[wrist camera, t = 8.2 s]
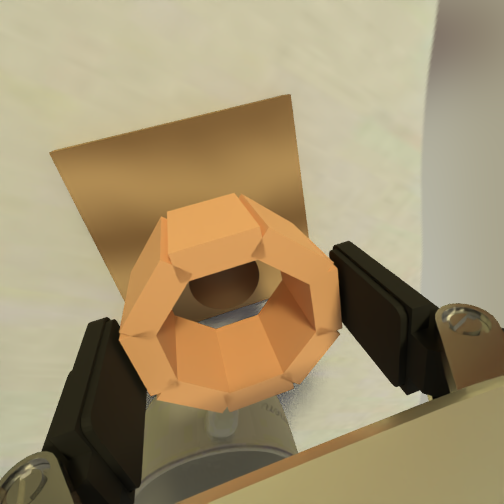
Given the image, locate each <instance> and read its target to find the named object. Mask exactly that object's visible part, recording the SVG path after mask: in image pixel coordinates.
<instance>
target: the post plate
mask: <svg viewBox="0 0 504 504" xmlns="http://www.w3.org/2000/svg"><path fill="white" fill-rule="evenodd" d="M50 155H51V157H52V159H53V161H54V163H55V165H56V167H57V169H58V171H59V173H60V175H61V177H62V179H63V181H64V183H65V185H66V187H67V189H68V191H69V193H70V195H71V197H72V199H73V201H74V203H75V205H76V207H77V209H78V211H79V213H80V215H81V217H82V219H83V221H84V222H85V224H86V226H87V228H88V230H89V232H90V234H91V236H92V238H93V240H94V242H95V244H96V246H97V248H98V250H99V252H100V254H101V256H102V258H103V260H104V262H105V264H106V266H107V268H108V270H109V272H110V274H111V276H112V278H113V280H114V282H115V284H116V286H117V288H118V289H119V291H120V293H121V295H122V297H123V299H124V301H125V300H126V294H127V289H128V284H129V279H130V274H131V271H132V269H133V267H134V265H135V264H136V262H137V260H138V258H139V256H140V254H141V252H142V251H143V249H144V247H145V245H146V243H147V241H148V240H149V238H150V236H151V234H152V232H153V230H154V228H155V227H156V225H157V223H158V221H159V219H160V217H161V216H162V217H164V218H166V219H167V212H168V211H171V210H175V209H178V208H182V207H185V206H189V205H192V204H196V203H200V202H203V201H207V200H210V199H214V198H217V197H221V196H224V195H228V194H232V193H235V194H236V196H237V197H238V198H239V197H240V195H241V194H243V195H245V196H246V197H248V198H250V199H252V200H253V201H255V202H257V203H258V204H260V205H262V206H264V207H265V208H267V209H269V210H270V211H272V212H274V213H276V214H277V215H279V216H281V217H283V218H284V219H286V220H288V221H289V222H291V223H293V224H294V225H295V226H296V227H297V228H298V229H299V230H300V231H301V232H302V233H303V234H304V235H305V236H306V237H307V238H309V236H308V228H307V220H306V212H305V205H304V197H303V189H302V181H301V173H300V165H299V157H298V149H297V141H296V134H295V126H294V118H293V110H292V102H291V94H288V95H282V96H277V97H273V98H269V99H265V100H261V101H257V102H253V103H249V104H244V105H240V106H236V107H232V108H228V109H224V110H220V111H215V112H211V113H207V114H203V115H199V116H195V117H191V118H186V119H182V120H178V121H174V122H170V123H166V124H162V125H158V126H153V127H149V128H145V129H141V130H137V131H133V132H129V133H124V134H120V135H116V136H112V137H108V138H104V139H100V140H95V141H91V142H87V143H83V144H79V145H75V146H71V147H67V148H62V149H58V150H54V151H52V152H50ZM281 281H282V276H281V271H280V270H278V269H276V268H274V267H272V266H270V265H268V264H266V263H264V262H262V261H260V260H255V261H252V262H249V263H245V264H242V265H239V266H236V267H233V268H230V269H226V270H223V271H220V272H217V273H214V274H210V275H207V276H204V277H201V278H198V279H194V280H191V281H189V282H188V283H187V285H186V287H185V288H184V290H183V292H182V293H181V295H180V297H179V298H178V300H177V302H176V303H175V305H174V307H173V308H172V310H173V313H174V315H176V316H179V317H182V318H185V319H187V320H190V321H193V322H199V321H202V320H205V319H208V318H211V317H214V316H217V315H220V314H223V313H226V312H229V311H232V310H235V309H238V308H241V307H244V306H247V305H250V304H253V303H256V302H260V301H263V300H266V299H269V298H270V297H271V295H272V294H273V293H274V291H275V290H276V288H277V287H278V285H279V284H280V283H281Z"/></svg>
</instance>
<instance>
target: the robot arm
mask: <svg viewBox="0 0 504 504" xmlns="http://www.w3.org/2000/svg"><path fill="white" fill-rule="evenodd" d="M329 257H330V260H332V261H333V262H334V263H333V265H334V266H335V267H337V268H338V280H339V293H340V305H341V317H342V323H343V324H344V325H345V326H346V328H347V329H348V330H349V331H350V332H351V334H352V335H353V336H354V337H355V339H356V340H357V341H358V342H359V344H360V345H361V346H362V347H363V349H364V350H365V351H366V352H367V354H368V355H369V356H370V357H371V359H372V360H373V361H374V362H375V364H376V365H377V366H378V367H379V369H380V370H381V371H382V372H383V373H384V375H385V376H386V377H387V378H388V380H389V381H390V382H391V383H392V384H393V385H394V386H395V387H398V386H400V388H401V389H402V390H403V391H404V392H405V394H406V395H409V394H412V393H414V392H417V391H419V390H420V391H421V392H422V393H424V394H427V395H428V400H429V401H428V402H426V403H423V404H421V405H418V406H415V407H413V408H410V409H408V410H405V411H403V412H400V413H398V414H395V415H393V416H390V417H388V418H385V419H383V420H380V421H378V422H375V423H373V424H370V425H368V426H365V427H363V428H360V429H357V430H355V431H352V432H350V433H347V434H345V435H342V436H340V437H337V438H335V439H332V440H330V441H327V442H325V443H322V444H320V445H318V446H315V447H313V448H310V449H308V450H305V451H303V452H300V453H298V454H295V455H293V456H290V457H288V458H285V459H283V460H280V461H278V462H275V463H273V464H270V465H268V466H265V467H263V468H260V469H258V470H256V471H253V472H251V473H248V474H246V475H243V476H241V477H238V478H236V479H233V480H231V481H228V482H226V483H224V484H221V485H219V486H216V487H214V488H211V489H209V490H206V491H204V492H202V493H199V494H197V495H194V496H192V497H189V498H187V499H184V500H182V501H180V502H177V503H175V504H504V328H501V327H500V325H499V323H498V321H497V320H496V319H495V318H494V316H493V315H491V314H490V313H488V312H487V311H485V310H483V309H481V308H479V307H476V306H472V305H468V304H460V303H456V304H448V305H445V306H442V307H441V308H438V307H437V306H435V305H434V304H433V303H432V302H430V301H429V300H428V299H426V298H425V297H424V296H422V295H421V294H420V293H418V292H417V291H416V290H414V289H413V288H412V287H410V286H409V285H408V284H407V283H405V282H404V281H403V280H401V279H400V278H399V277H397V276H396V275H395V274H393V273H392V272H391V271H389V270H388V269H386V268H385V267H384V266H382V265H381V264H380V263H378V262H377V261H376V260H374V259H373V258H372V257H370V256H369V255H368V254H366V253H365V252H364V251H362V250H361V249H360V248H358V247H357V246H356V245H354V244H353V243H352V242H350V241H347V242H343V243H340V244H337V245H334V246H333V250H331V251H330V252H329ZM119 330H120V326H119V324H118V322H117V321H116V320H115V319H114V320H110V319H109V318H108V317H106V318H102V319H99V320H96V321H93V322H90V323H89V324H88V326H87V328H86V331H85V334H84V337H83V340H82V343H81V346H80V349H79V352H78V355H77V358H76V361H75V364H74V367H73V370H72V371H71V372H70V373H69V375H68V377H67V380H66V383H65V386H64V388H63V391H62V394H61V397H60V400H59V403H58V406H57V408H56V411H55V414H54V417H53V420H52V423H51V426H50V428H49V431H48V434H47V437H46V440H45V443H44V446H43V448H42V451H41V452H37V453H35V454H32V455H30V456H27V457H26V458H24V459H23V460H21V461H20V462H18V463H17V464H16V465H15V466H13V467H12V468H11V469H10V470H9V471H8V472H7V473H6V474H5V475H4V476H3V477H2V479H1V480H0V504H134V501H135V489H137V488H139V487H140V485H141V479H142V463H143V446H144V429H145V413H146V396H147V389H146V387H145V385H144V383H143V382H142V380H141V378H140V376H139V375H138V373H137V371H136V369H135V368H134V366H133V364H132V362H131V360H130V359H129V357H128V355H127V353H126V352H125V350H124V348H123V346H122V345H121V343H120V341H119V337H120V333H119Z"/></svg>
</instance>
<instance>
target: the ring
mask: <svg viewBox="0 0 504 504" xmlns="http://www.w3.org/2000/svg"><path fill="white" fill-rule="evenodd" d="M255 260H260V261H262V262H264V263H266V264H268V265H270V266H272V267H274V268H276V269H278V270H280V271H281V276H282V281H281V283H280V284H279V285H278V287H277V288H276V290H275V291H274V293H273V294H272V295H271V297H270V298H269V300H268V301H267V302H266V304H265V305H264V307H263V308H262V310H261V311H260V312H259V314H258V315H256V316H253V317H250V318H247V319H244V320H241V321H238V322H235V323H232V324H229V325H226V326H223V327H220V328H217V329H214V328H211V327H208V326H205V325H202V324H199V323H196V322H193V321H190V320H187V319H185V318H182V317H179V316H176V315H174V313H173V310H172V308H173V307H174V305H175V303H176V302H177V300H178V298H179V297H180V295H181V293H182V292H183V290H184V288H185V287H186V285H187V283H188V282H189V281H191V280H194V279H198V278H201V277H204V276H207V275H210V274H214V273H217V272H220V271H223V270H226V269H230V268H233V267H236V266H239V265H242V264H245V263H249V262H252V261H255ZM333 263H334V262H333V261H332V260H330V259H329V258H328V257H327V256H326V255H325V254H324V253H323V252H322V251H321V250H320V249H319V248H318V247H317V246H316V245H315V244H314V243H313V242H312V241H311V240H310V239H309V238H307V237H306V236H305V235H304V234H303V233H302V232H301V231H300V230H299V229H298V228H297V227H296V226H295V225H294V224H293V223H291V222H289V221H288V220H286V219H284V218H283V217H281V216H279V215H277V214H276V213H274V212H272V211H270V210H269V209H267V208H265V207H264V206H262V205H260V204H258V203H257V202H255V201H253V200H252V199H250V198H248V197H246V196H245V195H243V194H241V195H240V197H239V198H238V197H237V196H236V194H235V193H232V194H228V195H224V196H221V197H217V198H214V199H210V200H207V201H203V202H200V203H196V204H192V205H189V206H185V207H182V208H178V209H175V210H171V211H168V212H167V219H166V218H164V217H162V216H161V217H160V219H159V221H158V223H157V225H156V227H155V228H154V230H153V232H152V234H151V236H150V238H149V240H148V241H147V243H146V245H145V247H144V249H143V251H142V252H141V254H140V256H139V258H138V260H137V262H136V264H135V265H134V267H133V269H132V271H131V274H130V279H129V284H128V289H127V294H126V300H125V305H124V310H123V315H122V320H121V325H120V330H119V333H120V337H119V341H120V343H121V345H122V346H123V348H124V350H125V352H126V353H127V355H128V357H129V359H130V360H131V362H132V364H133V366H134V368H135V369H136V371H137V373H138V375H139V376H140V378H141V380H142V382H143V383H144V385H145V387H146V389H147V390H148V392H149V394H150V396H153V395H156V394H157V400H159V401H164V402H169V403H174V404H179V405H184V406H189V407H194V408H199V409H203V410H208V411H213V412H218V413H223V412H224V411H225V409H226V408H227V407H228V410H229V412H233V411H235V410H238V409H241V408H243V407H246V406H249V405H251V404H254V403H257V402H259V401H262V400H265V399H267V398H270V397H273V396H275V395H278V394H281V393H283V392H286V391H289V390H291V389H294V386H293V383H296V384H301V382H302V381H303V380H304V379H305V377H306V376H307V375H308V374H309V372H310V371H311V370H312V369H313V367H314V366H315V365H316V364H317V362H318V361H319V360H320V359H321V357H322V356H323V355H324V354H325V352H326V351H327V350H328V349H329V347H330V346H331V345H332V344H333V343H334V341H335V340H336V339H337V338H338V336H339V335H340V333H339V332H338V331H337V330H339V329H341V328H342V317H341V305H340V293H339V280H338V268H337V267H335V266H334V265H333Z"/></svg>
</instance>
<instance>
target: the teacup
mask: <svg viewBox="0 0 504 504" xmlns="http://www.w3.org/2000/svg"><path fill="white" fill-rule="evenodd" d="M295 454H298V451H297V448H296V445H295V442H294V439H293V436H292V433H291V430H290V427H289V424H288V421H287V418H286V416H285V413H284V411H283V408H282V406H281V404H280V402H279V400H278V398H277V396H276V395H275V396H273V397H270V398H267V399H265V400H262V401H259V402H257V403H254V404H251V405H249V406H246V407H243V408H241V409H238V410H235V411H233V412H229V410H228V407H227V408H226V409H225V411H224V412H223V413H218V412H213V411H208V410H203V409H199V408H194V407H189V406H184V405H179V404H174V403H169V402H164V401H159V400H157V395H156V396H155V398H154V399H153V400H152V402H151V403H150V405H149V406H148V408H147V410H146V413H145V429H144V446H143V463H142V479H141V485H140V487H139V488H137V489H135V501H134V504H175V503H177V502H180V501H182V500H184V499H187V498H189V497H192V496H194V495H197V494H199V493H202V492H204V491H206V490H209V489H211V488H214V487H216V486H219V485H221V484H224V483H226V482H228V481H231V480H233V479H236V478H238V477H241V476H243V475H246V474H248V473H251V472H253V471H256V470H258V469H260V468H263V467H265V466H268V465H270V464H273V463H275V462H278V461H280V460H283V459H285V458H288V457H290V456H293V455H295Z"/></svg>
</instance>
